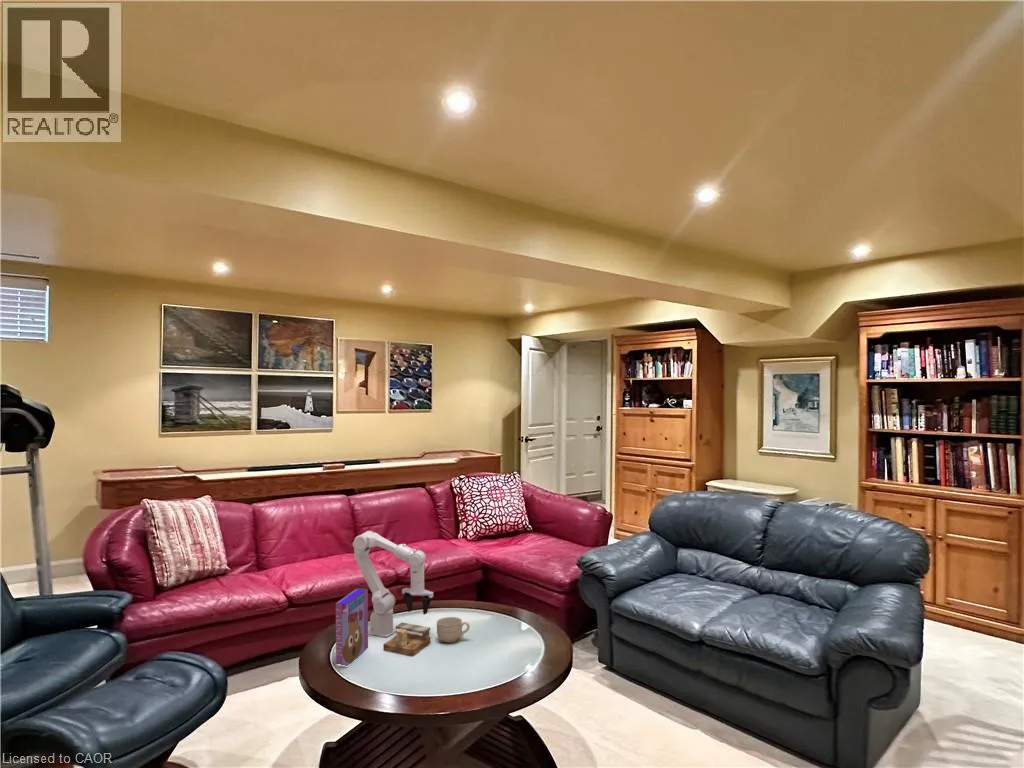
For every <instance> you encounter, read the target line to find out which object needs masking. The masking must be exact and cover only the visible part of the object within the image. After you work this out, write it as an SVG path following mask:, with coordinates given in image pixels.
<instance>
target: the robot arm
mask: <svg viewBox="0 0 1024 768" xmlns="http://www.w3.org/2000/svg"><path fill="white" fill-rule="evenodd" d="M352 547H353V554H354V555H353V556H354V559H355V561H356V563H357V565H358V568H359V569H360V571H361V574H362V576H363V578H364V579H365V581H366V584H367V586H368V588H369V590H370V592H371V594H372V597H371V602H372V607H373V610H372V612H371V614H370V617H369V631H368V635H373V636H378V637H383V638H388V637H390V636H391V635H393V634H394V633H396V632H397V631H398V629H396V628H394V609H393V608H394V605H395V604H396V598H395V596H394V595H393V594H392V593H391V592H390V589H388V588H386V587H385V586H384V584H383V582H382V580H381V578H380V577H379V574H378V572H377V569H376V567H374V564H373V562H372V560H371V558H370V557H369V553H370V551H371V548H375V547H379V548H381V549H383V550H387V551H389V552H392V553H393V554H394V556H395V557H396V558H397V559H400V560H403V561H404V562H406V563H408V564H409V565H408V566H410V587H404V588H402V589H401V593H402V598H403V600H404V603H405V605H406V608H407V611H408V612H411V611H413V606H414V605H413V600H414V596H420V597H422V598H421V603H422V612H423V615H426V614H428V610H429V607H430V604H431V601H432V599H433V597H434V592H433V591H430V590H428V589H426V588H425V561H426V560H427V554H426V553H425V552H424V551H423V550H421V549H416V548H412V547H409V546H407V544H406V543H400V544H396V543H395V542H392V541H390V540H389V539H387V538H385V537H383V536H381V535H380V534H379V533H377V532H374V531H372V530H367V531H365V532H363V533H362V534H359V535H357V536H355V538H354V540H353V542H352Z"/></svg>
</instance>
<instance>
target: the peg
mask: <svg viewBox="0 0 1024 768" xmlns="http://www.w3.org/2000/svg"><path fill="white" fill-rule="evenodd" d="M395 633H396V635H395V636H396V639H397V646H400V647H405V646H406V645H407V633H408V631H407V630H405V629H397V631H396V632H395Z"/></svg>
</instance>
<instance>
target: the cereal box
mask: <svg viewBox="0 0 1024 768" xmlns="http://www.w3.org/2000/svg"><path fill="white" fill-rule="evenodd" d="M368 648H369V591H368V588H364V587H357V588H355V589H354V590H352V591H350V593H348V594H347V595H345V596H344V597H343V598H341V599H340V600H338V601H337V602H335V665H336V664H341V665H345V666H348V665H349V664H351V663H352V662H353V661H354V660H355V659H356V660H357V659H358V658H359V657H360V656H361V655H363V653H364V652H365V651H366V650H367V649H368ZM356 660H355V661H356ZM355 661H354V662H355ZM354 662H353V663H354ZM353 663H352V664H353ZM352 664H351V665H352Z"/></svg>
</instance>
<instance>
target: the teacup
mask: <svg viewBox="0 0 1024 768" xmlns="http://www.w3.org/2000/svg"><path fill="white" fill-rule="evenodd" d="M464 625H465V626H466V629H465V630H463V627H464ZM469 630H470V623H469V621H463V619H462V618H460V617H457V616H447V617H446V616H445V617H442V618H439V619H437V620H436V634H437V637H438V638H439V640H440V641H442V642H445V643H453V642H457V641H458V640H459V638H461V637H462V636H464V634H466V633H467V632H468V631H469Z"/></svg>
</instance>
